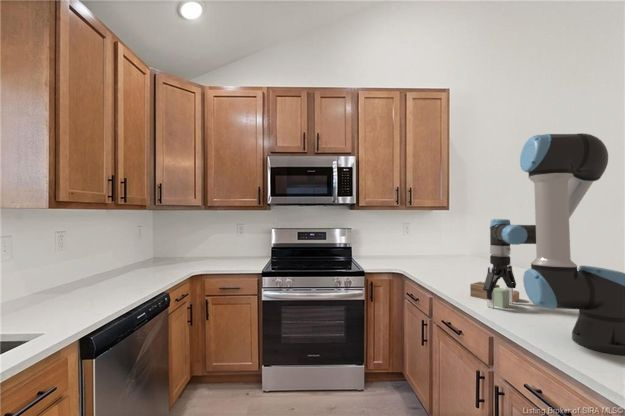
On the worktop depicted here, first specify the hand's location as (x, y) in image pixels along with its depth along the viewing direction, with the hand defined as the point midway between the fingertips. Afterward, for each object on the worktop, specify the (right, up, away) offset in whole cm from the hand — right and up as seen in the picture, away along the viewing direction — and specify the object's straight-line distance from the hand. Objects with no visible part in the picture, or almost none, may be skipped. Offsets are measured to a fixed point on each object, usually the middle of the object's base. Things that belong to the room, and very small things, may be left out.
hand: (500, 305), depth 143 cm
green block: (0, 0, 0) cm, 0 cm away
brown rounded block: (+10, -1, +9) cm, 13 cm away
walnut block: (+1, -1, +14) cm, 14 cm away
